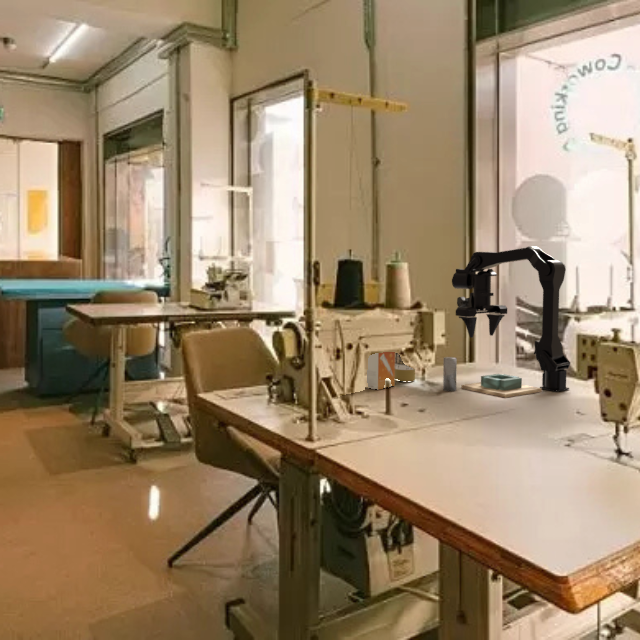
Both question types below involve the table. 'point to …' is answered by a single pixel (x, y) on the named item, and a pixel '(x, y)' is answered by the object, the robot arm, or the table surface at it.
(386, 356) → the small box
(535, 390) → the socket board
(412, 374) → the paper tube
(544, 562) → the table surface
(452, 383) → the steel pin
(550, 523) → the table surface
